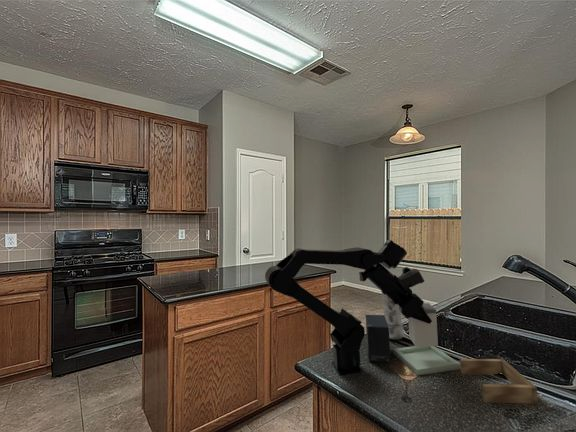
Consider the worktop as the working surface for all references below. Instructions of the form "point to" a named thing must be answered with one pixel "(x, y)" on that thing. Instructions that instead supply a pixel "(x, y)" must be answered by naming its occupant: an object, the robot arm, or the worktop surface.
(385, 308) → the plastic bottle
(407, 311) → the robot arm
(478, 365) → the bay
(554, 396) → the worktop surface
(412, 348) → the tray
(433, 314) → the grey drawer with handle
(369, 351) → the small box
